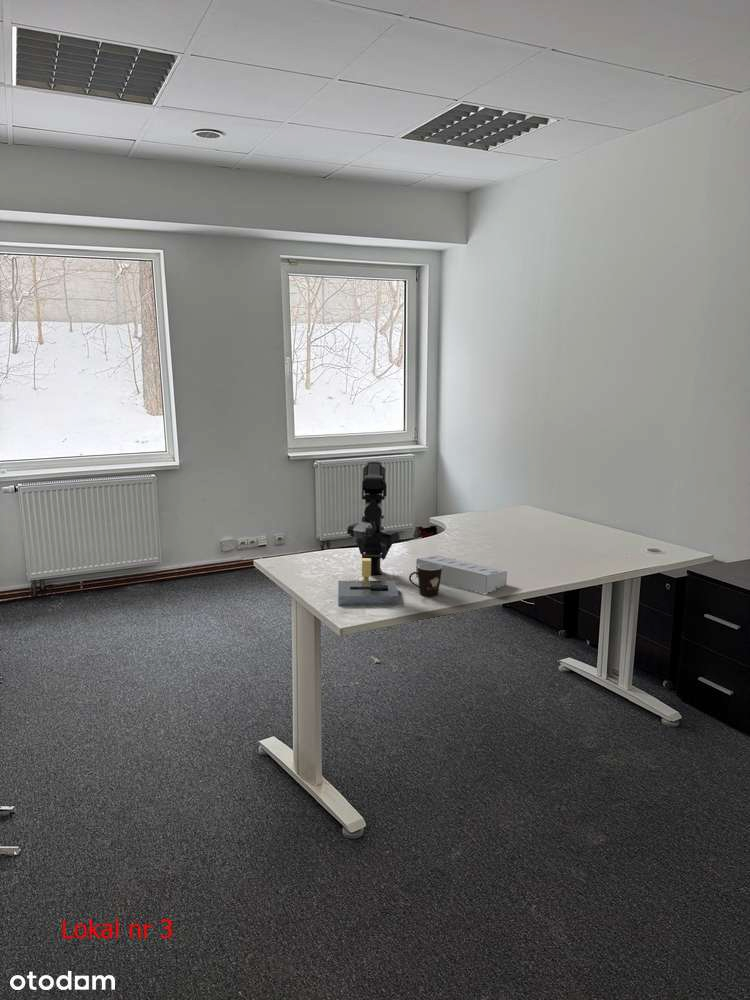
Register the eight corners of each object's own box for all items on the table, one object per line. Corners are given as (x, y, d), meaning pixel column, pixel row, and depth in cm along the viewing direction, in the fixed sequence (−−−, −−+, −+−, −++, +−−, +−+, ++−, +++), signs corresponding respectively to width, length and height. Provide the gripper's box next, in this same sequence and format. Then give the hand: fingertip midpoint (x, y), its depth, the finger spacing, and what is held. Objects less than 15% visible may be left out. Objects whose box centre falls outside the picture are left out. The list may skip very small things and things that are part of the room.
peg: (359, 582, 254) (360, 557, 252) (372, 582, 254) (372, 557, 252) (360, 586, 249) (360, 561, 247) (372, 586, 249) (372, 561, 247)
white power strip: (506, 586, 253) (507, 566, 252) (485, 596, 242) (486, 575, 241) (437, 569, 272) (438, 550, 270) (416, 578, 261) (416, 558, 259)
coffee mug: (439, 589, 247) (440, 562, 245) (442, 598, 239) (443, 570, 237) (406, 589, 247) (407, 562, 245) (408, 598, 238) (409, 570, 236)
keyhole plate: (338, 589, 246) (338, 580, 245) (394, 589, 247) (395, 580, 246) (338, 605, 231) (338, 596, 230) (398, 605, 231) (398, 596, 231)
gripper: (336, 513, 236) (336, 557, 240) (381, 522, 226) (380, 568, 229) (357, 507, 245) (356, 549, 249) (400, 515, 234) (399, 560, 238)
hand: (372, 556), depth 241 cm, fingers open, 9 cm apart
